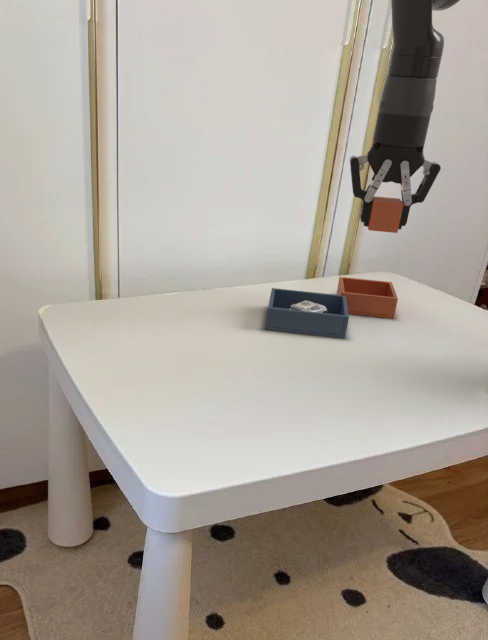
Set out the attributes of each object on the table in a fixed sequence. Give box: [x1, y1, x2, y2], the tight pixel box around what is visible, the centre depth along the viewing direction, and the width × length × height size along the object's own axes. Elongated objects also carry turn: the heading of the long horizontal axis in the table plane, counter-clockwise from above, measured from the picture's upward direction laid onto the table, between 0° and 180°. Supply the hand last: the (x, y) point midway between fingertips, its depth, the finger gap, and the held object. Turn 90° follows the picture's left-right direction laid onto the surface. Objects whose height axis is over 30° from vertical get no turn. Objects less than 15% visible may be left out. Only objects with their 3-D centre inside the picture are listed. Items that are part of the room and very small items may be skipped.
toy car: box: [290, 300, 327, 313], centre depth 101 cm, size 4×8×3 cm, turn 133°
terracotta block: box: [367, 195, 403, 234], centre depth 101 cm, size 4×4×4 cm
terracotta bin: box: [335, 276, 399, 319], centre depth 109 cm, size 9×9×4 cm
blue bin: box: [265, 287, 350, 339], centre depth 101 cm, size 12×10×4 cm
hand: (381, 226), depth 102 cm, fingers closed on terracotta block, 4 cm apart
